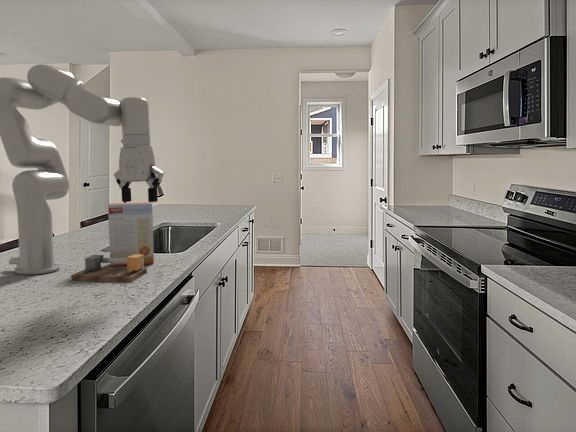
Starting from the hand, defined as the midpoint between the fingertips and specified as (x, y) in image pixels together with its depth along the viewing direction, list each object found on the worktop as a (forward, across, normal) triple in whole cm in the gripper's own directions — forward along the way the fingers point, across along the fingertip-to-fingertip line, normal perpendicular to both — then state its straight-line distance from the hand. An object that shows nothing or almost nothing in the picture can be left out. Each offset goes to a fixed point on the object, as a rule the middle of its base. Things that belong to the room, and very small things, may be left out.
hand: (139, 201), depth 139 cm
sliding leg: (+21, -6, +2) cm, 22 cm away
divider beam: (+21, -12, 0) cm, 24 cm away
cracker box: (+23, -20, +17) cm, 34 cm away
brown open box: (+23, -12, -1) cm, 26 cm away
